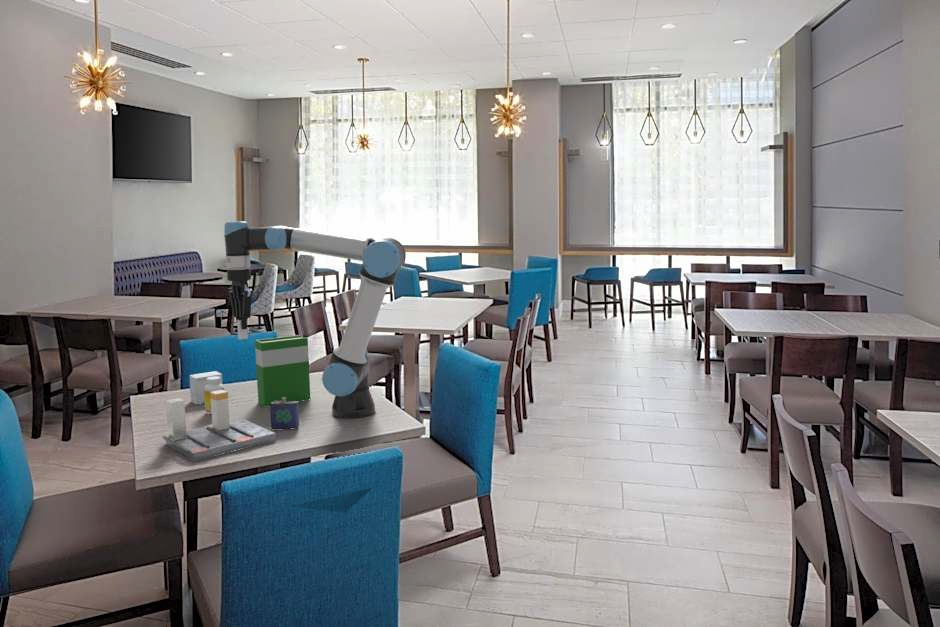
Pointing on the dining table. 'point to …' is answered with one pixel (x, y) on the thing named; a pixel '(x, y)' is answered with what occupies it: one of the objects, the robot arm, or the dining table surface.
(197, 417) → the dining table surface
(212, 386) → the supplement bottle
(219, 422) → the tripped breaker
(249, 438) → the grey slotted tray
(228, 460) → the dining table surface
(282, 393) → the hardback book
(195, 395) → the skincare box
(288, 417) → the flask
